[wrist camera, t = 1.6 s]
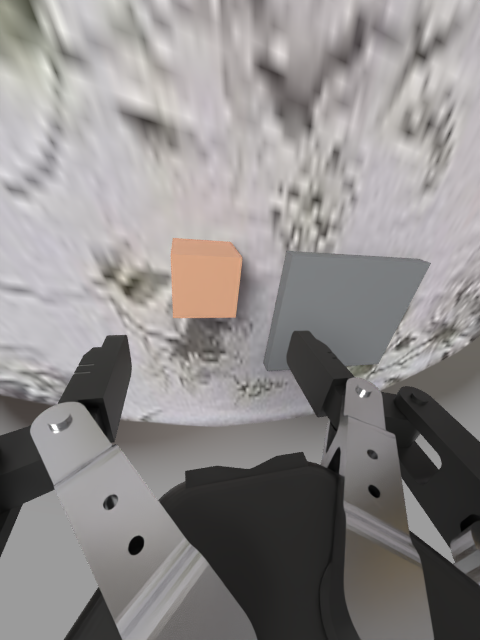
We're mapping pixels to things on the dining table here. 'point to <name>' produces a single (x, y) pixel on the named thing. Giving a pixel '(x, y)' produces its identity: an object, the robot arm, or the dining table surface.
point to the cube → (204, 278)
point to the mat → (342, 304)
